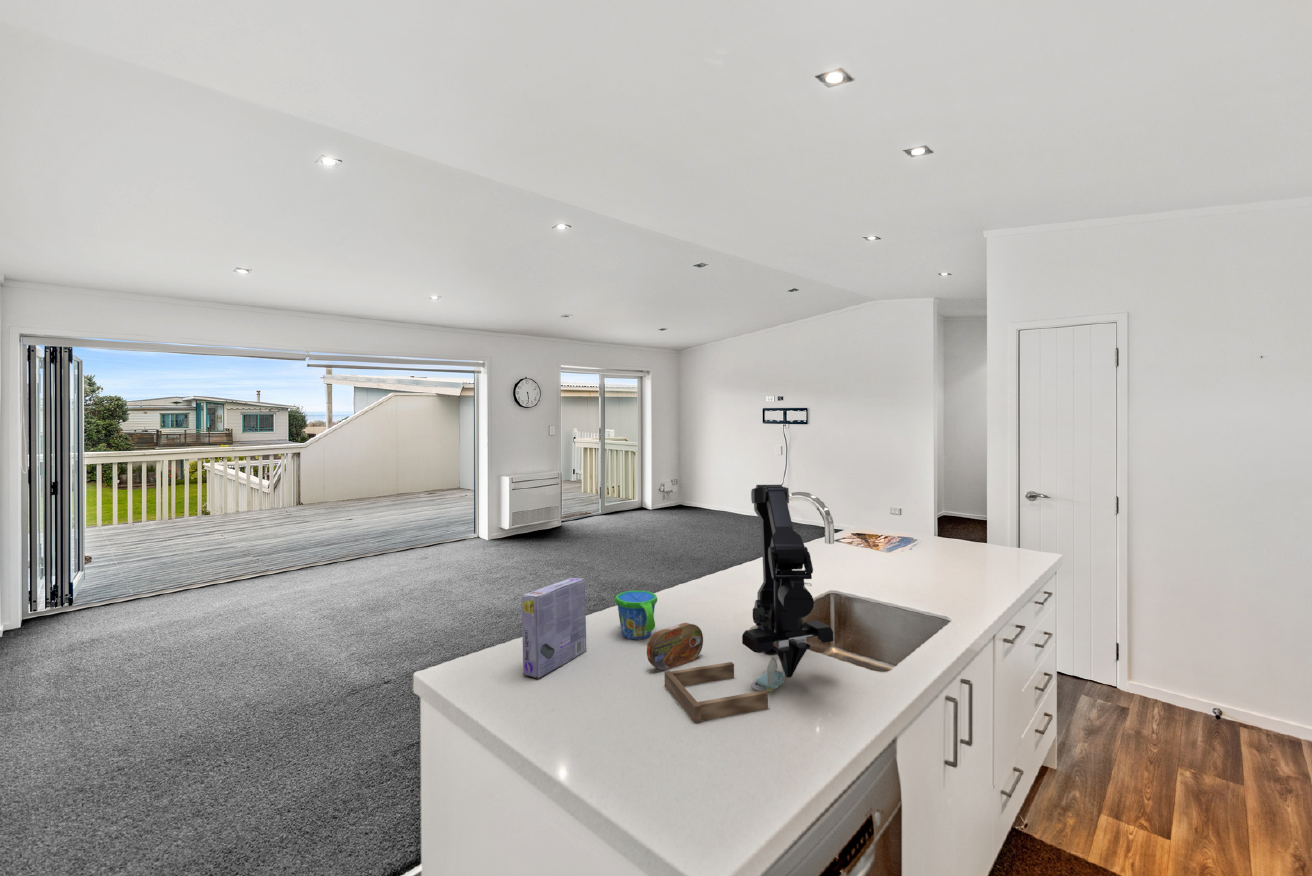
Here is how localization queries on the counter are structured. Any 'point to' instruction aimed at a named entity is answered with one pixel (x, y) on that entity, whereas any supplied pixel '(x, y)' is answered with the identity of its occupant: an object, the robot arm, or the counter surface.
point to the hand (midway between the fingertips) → (788, 676)
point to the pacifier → (769, 678)
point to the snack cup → (636, 613)
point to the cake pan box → (553, 626)
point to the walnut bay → (715, 706)
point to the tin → (674, 646)
